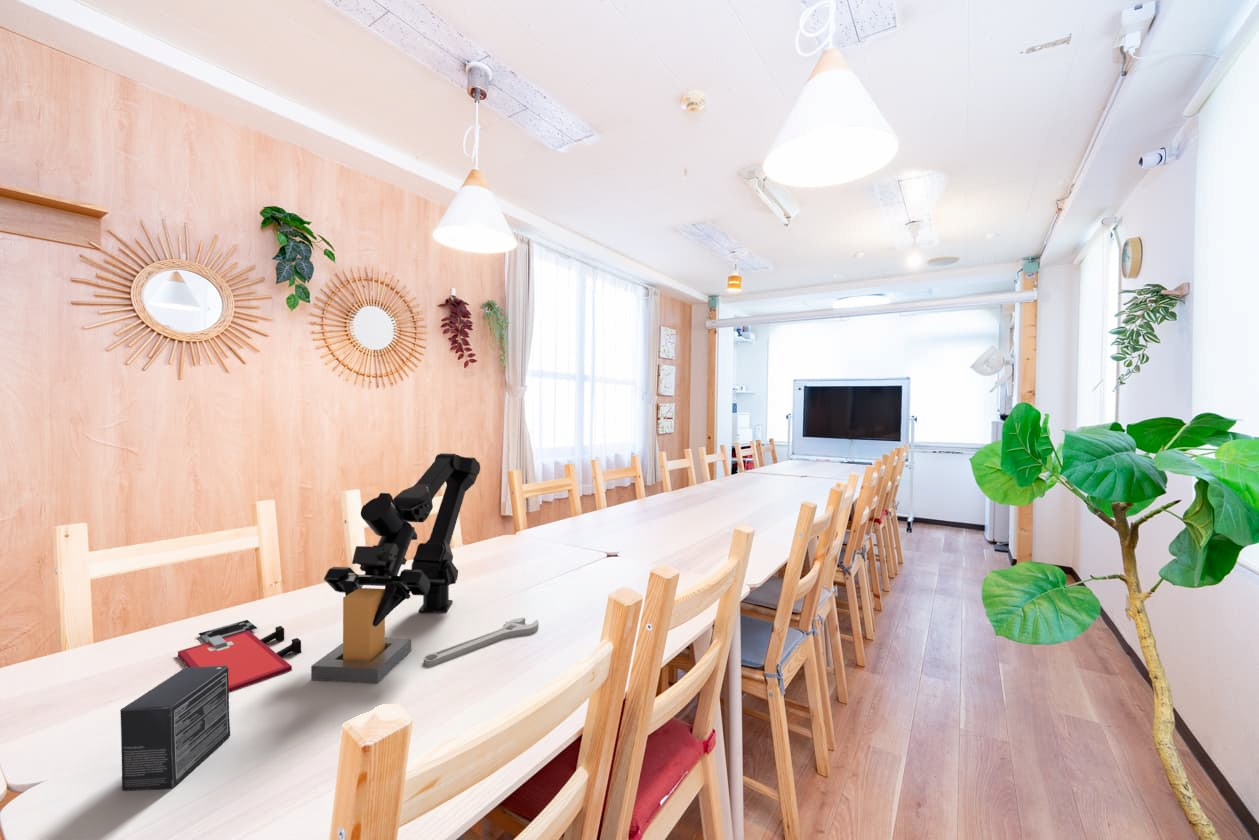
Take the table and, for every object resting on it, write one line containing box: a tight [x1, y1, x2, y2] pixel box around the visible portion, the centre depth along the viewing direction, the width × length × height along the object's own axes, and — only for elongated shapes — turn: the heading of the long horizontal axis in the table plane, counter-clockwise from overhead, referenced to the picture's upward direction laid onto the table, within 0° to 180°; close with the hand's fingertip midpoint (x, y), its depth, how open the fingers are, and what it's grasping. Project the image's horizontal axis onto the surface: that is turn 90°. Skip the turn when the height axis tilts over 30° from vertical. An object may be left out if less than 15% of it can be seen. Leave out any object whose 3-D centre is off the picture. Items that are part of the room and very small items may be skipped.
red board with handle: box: [177, 619, 302, 693], centre depth 99 cm, size 30×3×15 cm
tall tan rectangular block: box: [342, 587, 386, 661], centre depth 95 cm, size 5×5×12 cm
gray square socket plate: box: [310, 636, 413, 684], centre depth 95 cm, size 12×12×2 cm
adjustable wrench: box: [423, 617, 539, 667], centre depth 105 cm, size 25×6×2 cm, turn 133°
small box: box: [119, 666, 231, 792], centre depth 68 cm, size 11×6×10 cm, turn 5°
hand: (360, 624), depth 93 cm, fingers closed on tall tan rectangular block, 5 cm apart
